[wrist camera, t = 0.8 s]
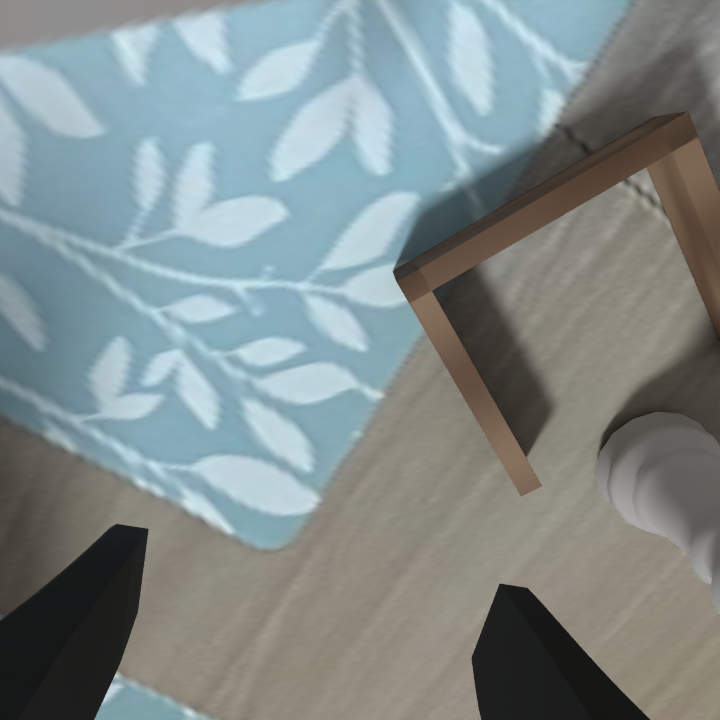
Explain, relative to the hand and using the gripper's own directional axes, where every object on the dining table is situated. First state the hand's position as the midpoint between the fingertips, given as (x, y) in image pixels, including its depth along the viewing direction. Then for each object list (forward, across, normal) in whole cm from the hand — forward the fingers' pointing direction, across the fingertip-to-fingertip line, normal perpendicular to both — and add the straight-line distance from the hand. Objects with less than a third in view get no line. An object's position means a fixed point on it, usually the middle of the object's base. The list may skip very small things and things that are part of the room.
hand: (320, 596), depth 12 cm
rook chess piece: (+10, -13, 0) cm, 16 cm away
